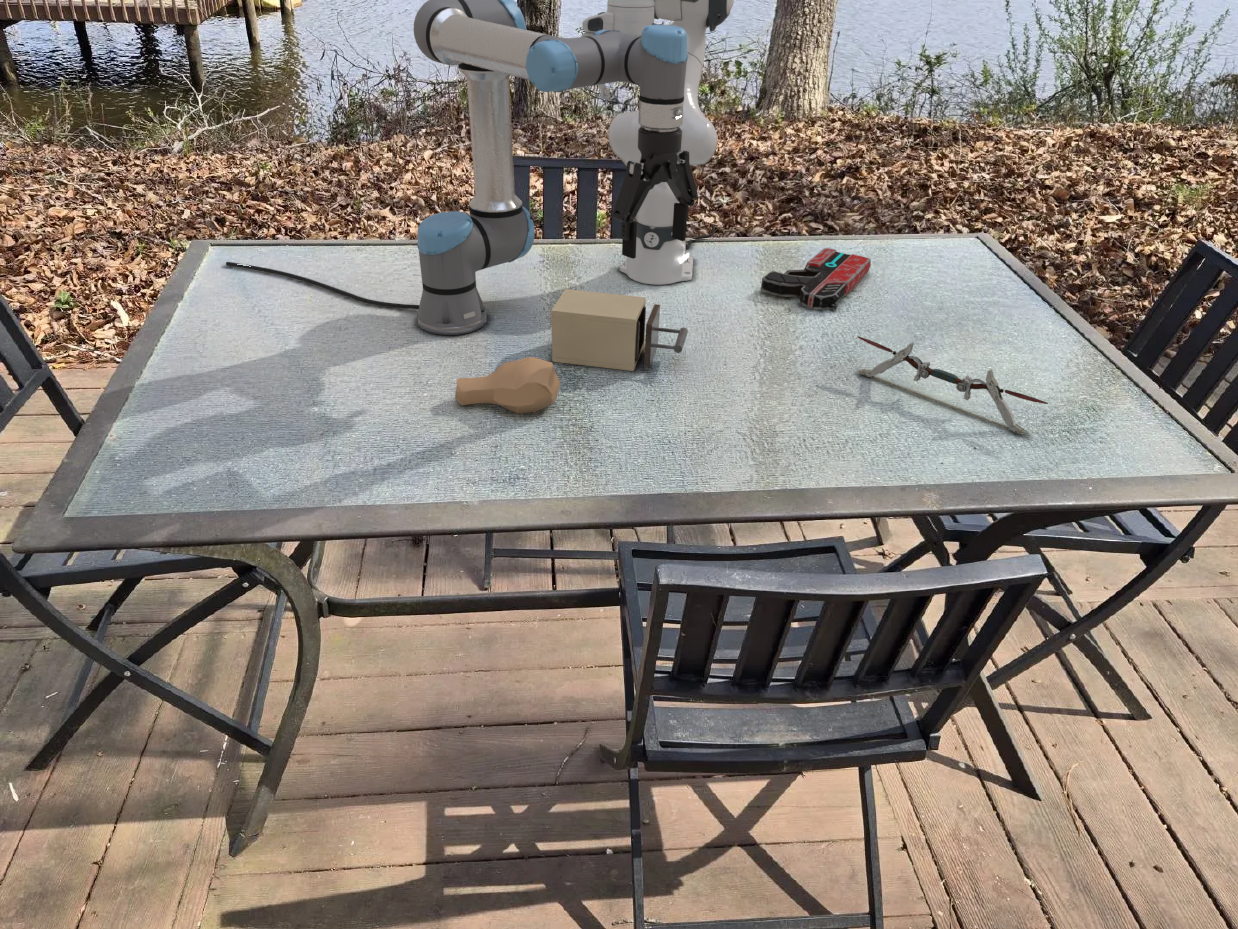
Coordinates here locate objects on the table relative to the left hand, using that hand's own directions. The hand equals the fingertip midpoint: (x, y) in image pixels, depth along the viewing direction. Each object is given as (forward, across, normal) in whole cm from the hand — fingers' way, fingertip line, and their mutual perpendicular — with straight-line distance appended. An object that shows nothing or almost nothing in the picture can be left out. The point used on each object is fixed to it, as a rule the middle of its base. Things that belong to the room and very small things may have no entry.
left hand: (654, 247), depth 161 cm
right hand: (-20, +16, +22) cm, 34 cm away
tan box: (+28, +1, +15) cm, 31 cm away
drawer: (+26, +4, +9) cm, 28 cm away
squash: (+28, -27, +11) cm, 40 cm away
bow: (+27, +35, -46) cm, 63 cm away
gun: (+28, +68, +5) cm, 73 cm away
